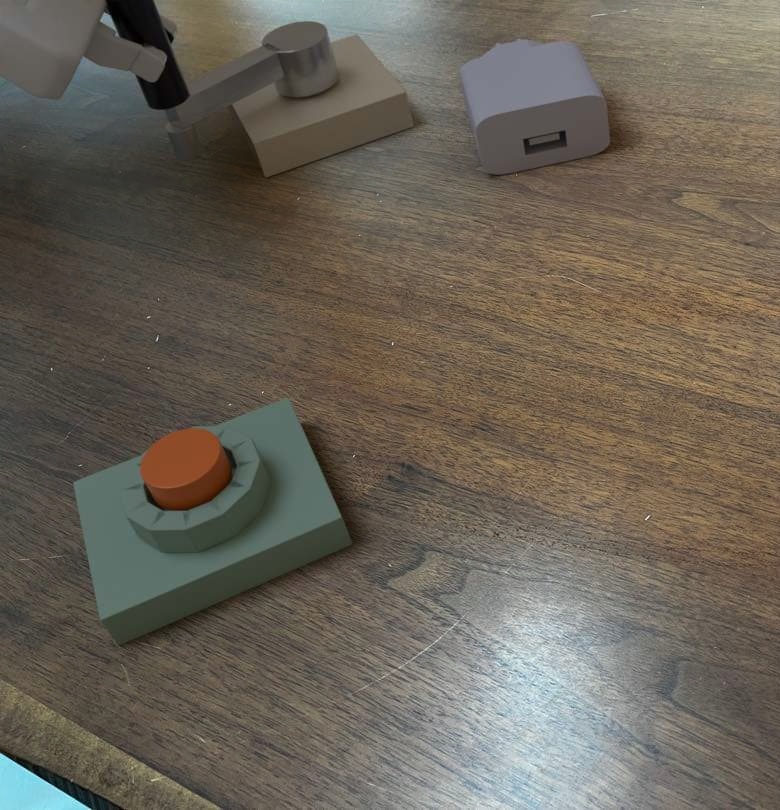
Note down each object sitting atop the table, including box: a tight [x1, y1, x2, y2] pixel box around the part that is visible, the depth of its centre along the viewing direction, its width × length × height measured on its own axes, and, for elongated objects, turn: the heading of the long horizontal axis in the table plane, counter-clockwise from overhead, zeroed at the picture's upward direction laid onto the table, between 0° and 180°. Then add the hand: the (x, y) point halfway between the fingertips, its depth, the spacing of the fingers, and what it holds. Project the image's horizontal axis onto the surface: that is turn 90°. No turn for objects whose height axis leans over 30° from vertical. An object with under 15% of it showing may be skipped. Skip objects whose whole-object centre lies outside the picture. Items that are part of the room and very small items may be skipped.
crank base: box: [227, 33, 414, 179], centre depth 85 cm, size 12×12×3 cm
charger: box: [458, 37, 611, 176], centre depth 81 cm, size 5×9×15 cm
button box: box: [72, 396, 353, 647], centre depth 55 cm, size 12×10×4 cm
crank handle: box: [106, 0, 339, 163], centre depth 78 cm, size 15×5×12 cm, turn 135°
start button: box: [140, 427, 232, 511], centre depth 54 cm, size 4×4×2 cm
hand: (167, 55), depth 75 cm, fingers closed on crank handle, 3 cm apart
